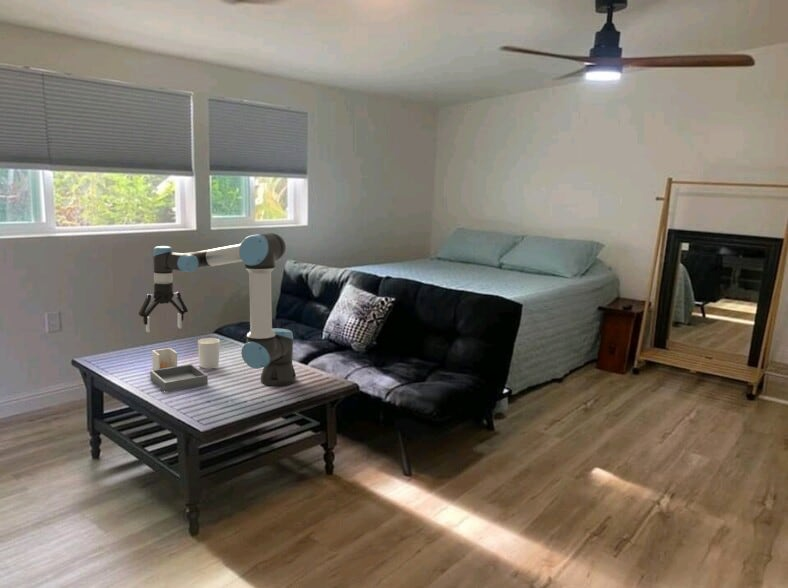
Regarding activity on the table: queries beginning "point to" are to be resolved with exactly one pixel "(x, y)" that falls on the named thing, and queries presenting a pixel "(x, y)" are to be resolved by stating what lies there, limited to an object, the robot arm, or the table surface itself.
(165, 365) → the ball
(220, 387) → the table surface
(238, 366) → the table surface
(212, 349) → the candle holder
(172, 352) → the cream open-top bin
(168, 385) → the tray
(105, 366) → the table surface
